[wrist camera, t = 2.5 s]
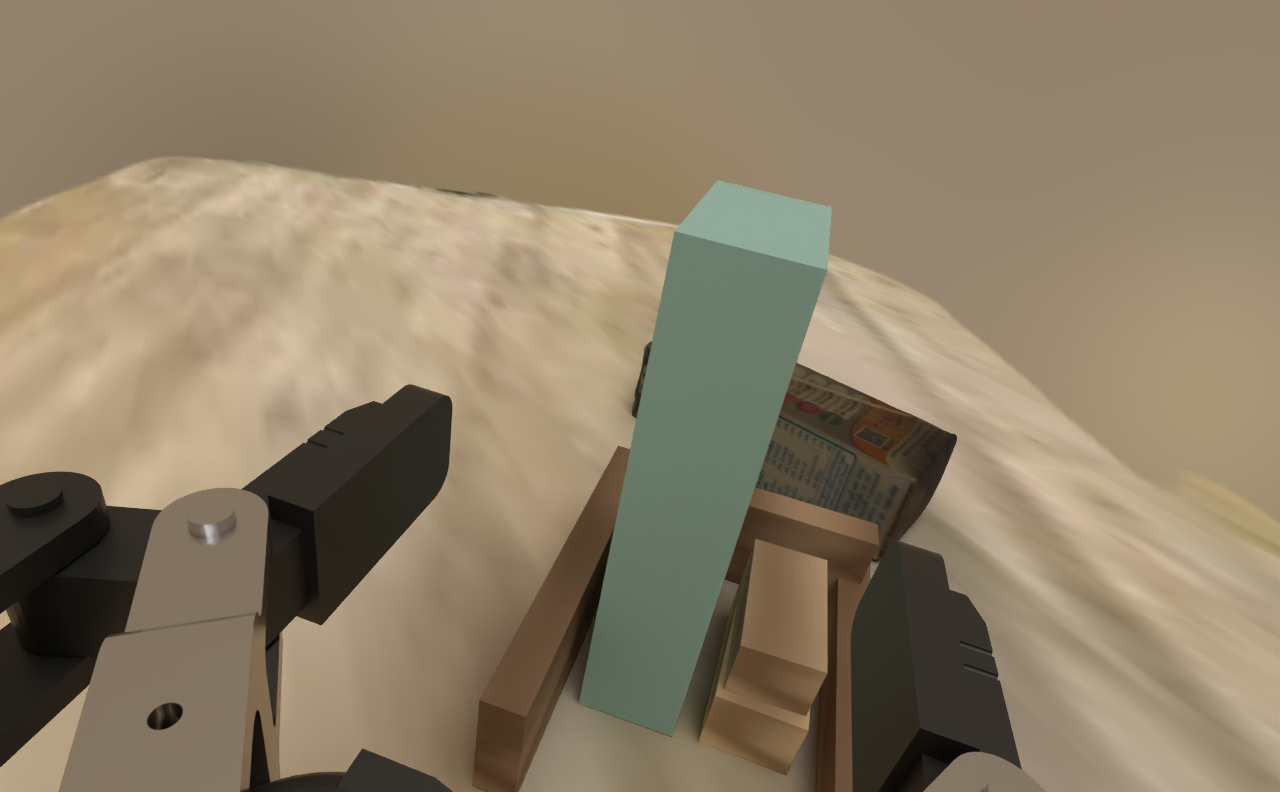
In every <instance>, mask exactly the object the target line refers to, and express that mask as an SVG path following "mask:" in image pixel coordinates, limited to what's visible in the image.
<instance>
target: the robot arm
mask: <svg viewBox="0 0 1280 792" xmlns="http://www.w3.org/2000/svg"><path fill="white" fill-rule="evenodd" d="M451 421H452V401H451V399H450V397H449V396H446V395H443V394H440V393H437V392H434V391H430V390H427V389H424V388H421V387H418V386H415V385H411V384H409V385H406V386H404V387H403V388H402V389H400V390H399V391H398V392H397V393H395V394H394V395H393V396H392V397H390V398H389V399H388V400H387V401H385V402H384V403H383V404H381V403H378V402H375V401H373V402H370V403H367V404H364V405H362V406H359V407H356V408H353V409H350V410H348V411H345V412H344V413H342V414H341V415H340V416H338V417H337V418H336V419H334V420H333V421H332V422H330V423H329V424H328V425H326V426H325V428H324V430H320V431H318V432H317V433H316V434H314V435H313V436H312V437H310V438H309V439H308V441H307V443H306V444H305V443H302V444H301V445H300V446H298V447H297V448H296V449H294V450H293V451H292V452H290V453H289V454H288V455H286V456H285V457H284V458H282V459H281V460H280V461H278V462H277V463H276V464H274V465H273V466H272V467H270V468H269V469H268V470H266V471H265V472H264V473H262V474H261V475H260V476H258V477H257V478H256V479H254V480H253V481H252V482H250V483H249V484H248V485H246V486H245V487H244V488H242V489H236V488H215V489H208V490H203V491H199V492H195V493H192V494H189V495H187V496H184V497H182V498H180V499H178V500H176V501H174V502H173V503H171V504H170V505H168V506H167V507H166V508H164V509H163V510H151V509H139V508H127V507H115V506H106V504H105V500H104V497H103V493H102V489H101V487H100V485H99V484H98V483H97V481H95V480H94V479H92V478H91V477H88V476H86V475H83V474H79V473H73V472H47V473H40V474H34V475H29V476H25V477H21V478H18V479H15V480H12V481H9V482H7V483H5V484H2V485H0V614H1V613H2V612H3V611H5V610H6V611H7V613H8V616H9V618H10V621H11V622H10V623H9V624H8V625H6V626H5V627H4V628H3V629H1V630H0V767H1V766H2V765H3V764H4V763H6V762H7V761H8V760H9V759H10V758H11V757H12V756H13V755H14V754H15V753H16V752H17V751H18V750H19V749H21V748H22V747H23V746H24V745H25V744H26V743H27V742H28V741H29V740H30V739H31V738H32V737H33V736H35V735H36V734H37V733H38V732H39V731H40V730H41V729H42V728H43V727H44V726H45V725H46V724H47V723H49V722H50V721H51V720H52V719H53V718H54V717H55V716H56V715H57V714H58V713H59V712H60V711H61V710H62V709H64V708H65V707H66V706H67V705H68V704H69V703H70V702H71V701H72V700H73V699H74V698H75V697H76V696H78V695H79V694H80V693H81V692H82V691H83V690H84V689H85V688H86V687H87V686H88V685H89V684H90V685H89V688H88V692H87V695H86V699H85V702H84V706H83V709H82V713H81V716H80V720H79V723H78V727H77V730H76V733H75V737H74V740H73V744H72V747H71V751H70V754H69V758H68V761H67V765H66V768H65V772H64V775H63V779H62V782H61V786H60V789H59V792H452V791H451V790H450V789H449V788H447V787H446V786H445V785H444V784H442V783H441V782H440V781H439V780H437V779H436V778H435V777H432V776H430V775H427V774H425V773H422V772H420V771H417V770H415V769H412V768H410V767H407V766H405V765H402V764H400V763H397V762H395V761H392V760H390V759H387V758H385V757H382V756H380V755H377V754H375V753H372V752H370V751H367V750H365V749H362V750H361V751H360V753H359V754H358V756H357V757H356V759H355V760H354V761H353V763H352V764H351V766H350V767H349V769H348V770H347V772H317V773H309V774H302V775H296V776H291V777H287V778H283V779H280V765H279V729H280V703H281V676H282V650H283V638H282V630H283V629H284V628H285V627H286V626H287V625H288V624H289V623H290V622H291V621H292V620H293V619H294V618H295V617H296V616H298V617H300V618H303V619H306V620H308V621H311V622H314V623H316V624H319V625H322V624H323V623H324V622H325V621H326V620H327V619H328V618H329V616H330V615H331V614H332V613H333V612H334V611H335V610H336V609H337V607H338V606H339V605H340V604H341V603H342V602H343V601H344V599H345V598H346V597H347V596H348V595H349V594H350V593H351V592H352V590H353V589H354V588H355V587H356V586H357V585H358V584H359V583H360V581H361V580H362V579H363V578H364V577H365V576H366V575H367V574H368V572H369V571H370V570H371V569H372V568H373V567H374V566H375V565H376V563H377V562H378V561H379V560H380V559H381V558H382V557H383V556H384V554H385V553H386V552H387V551H388V550H389V549H390V548H391V547H392V545H393V544H394V543H395V542H396V541H397V540H398V539H399V538H400V536H401V535H402V534H403V533H404V532H405V531H406V530H407V529H408V527H409V526H410V525H411V524H412V523H413V522H414V521H415V520H416V518H417V517H418V516H419V515H420V514H421V513H422V512H423V511H424V509H425V508H426V507H427V506H428V505H429V504H430V503H431V502H432V500H433V499H434V498H435V497H436V496H437V494H438V493H439V491H440V489H441V488H442V485H443V483H444V481H445V478H446V475H447V472H448V467H449V454H450V438H451ZM992 652H993V651H992V647H991V643H990V639H989V635H988V631H987V627H986V623H985V622H984V620H983V619H982V617H981V616H980V614H979V613H978V611H977V610H976V608H975V607H974V605H973V604H972V602H971V601H970V600H969V598H968V597H967V595H964V594H961V593H958V592H955V591H952V590H949V585H948V580H947V575H946V569H945V564H944V560H943V557H942V556H941V555H940V554H937V553H934V552H931V551H928V550H925V549H922V548H918V547H915V546H912V545H909V544H906V543H903V542H900V541H897V540H894V541H892V542H891V543H890V545H889V546H888V548H887V549H886V551H885V553H884V555H883V557H882V559H881V561H880V563H879V565H878V567H877V569H876V571H875V573H874V575H873V577H872V579H871V581H870V583H869V585H868V587H867V589H866V590H865V592H864V594H863V596H862V598H861V600H860V602H859V605H858V607H857V610H856V613H855V616H854V620H853V624H852V630H851V712H852V785H853V792H1045V791H1044V790H1043V789H1042V788H1041V787H1040V786H1039V785H1038V784H1037V783H1036V782H1035V781H1034V780H1033V779H1032V778H1031V777H1030V776H1029V775H1027V774H1026V773H1025V772H1024V771H1023V770H1022V769H1021V765H1020V761H1019V757H1018V753H1017V749H1016V745H1015V741H1014V737H1013V732H1012V728H1011V724H1010V720H1009V716H1008V712H1007V708H1006V704H1005V700H1004V696H1003V692H1002V688H1001V684H1000V681H999V680H997V677H998V671H997V667H996V663H995V659H994V657H992Z"/></svg>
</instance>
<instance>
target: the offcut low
mask: <svg viewBox="0 0 1280 792" xmlns="http://www.w3.org/2000/svg"><path fill="white" fill-rule="evenodd" d="M739 589H740V584H739V587H738V590H737V593H736V596H735V599H734V601H733V604H732V607H731V610H730V613H729V616H728V620H727V624H726V628H725V633H724V637H723V641H722V645H721V649H720V653H719V658H718V662H717V666H716V670H715V674H714V679H713V683H712V687H711V691H710V695H709V699H708V704H707V708H706V712H705V716H704V720H703V725H702V729H701V733H700V737H699V742H702V743H704V744H707V745H710V746H712V747H715V748H717V749H720V750H722V751H725V752H728V753H730V754H733V755H735V756H738V757H740V758H743V759H746V760H748V761H751V762H753V763H756V764H758V765H761V766H764V767H766V768H769V769H771V770H774V771H776V772H779V773H782V774H784V775H786V774H787V772H788V770H789V768H790V766H791V764H792V762H793V760H794V758H795V756H796V754H797V752H798V750H799V748H800V747H801V745H802V743H803V741H804V739H805V737H806V735H807V733H808V730H809V719H810V709H809V711H808V713H807V715H806V716H803V715H800V714H797V713H794V712H791V711H788V710H785V709H782V708H779V707H776V706H773V705H770V704H767V703H764V702H760V701H757V700H754V699H751V698H748V697H745V696H742V695H739V694H736V693H733V692H730V691H727V690H724V686H725V679H726V673H727V666H728V660H729V654H730V647H731V641H732V634H733V628H734V621H735V615H736V608H737V602H738V595H739Z"/></svg>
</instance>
